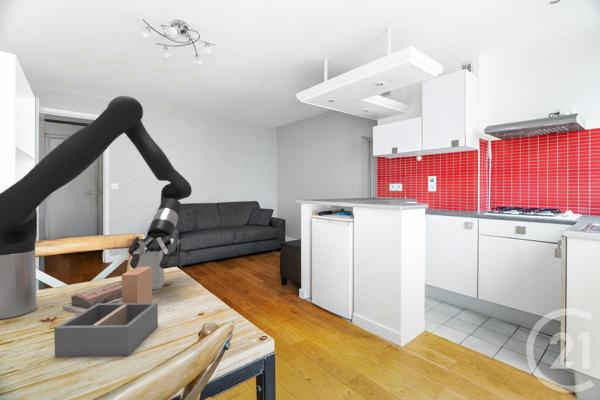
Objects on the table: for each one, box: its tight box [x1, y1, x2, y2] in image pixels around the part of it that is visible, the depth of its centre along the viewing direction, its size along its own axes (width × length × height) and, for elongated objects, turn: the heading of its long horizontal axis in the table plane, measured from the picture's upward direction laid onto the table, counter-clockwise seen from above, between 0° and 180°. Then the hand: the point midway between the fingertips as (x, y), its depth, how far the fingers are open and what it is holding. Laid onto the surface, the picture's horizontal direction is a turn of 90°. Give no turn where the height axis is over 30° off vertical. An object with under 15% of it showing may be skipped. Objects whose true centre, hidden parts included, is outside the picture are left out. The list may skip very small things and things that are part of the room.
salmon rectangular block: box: [121, 267, 153, 303], centre depth 80 cm, size 4×8×12 cm, turn 2°
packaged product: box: [61, 280, 122, 315], centre depth 89 cm, size 18×5×10 cm
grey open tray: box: [53, 302, 159, 358], centre depth 65 cm, size 15×13×6 cm
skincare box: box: [136, 247, 166, 290], centre depth 101 cm, size 8×6×15 cm
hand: (147, 267), depth 85 cm, fingers open, 8 cm apart
